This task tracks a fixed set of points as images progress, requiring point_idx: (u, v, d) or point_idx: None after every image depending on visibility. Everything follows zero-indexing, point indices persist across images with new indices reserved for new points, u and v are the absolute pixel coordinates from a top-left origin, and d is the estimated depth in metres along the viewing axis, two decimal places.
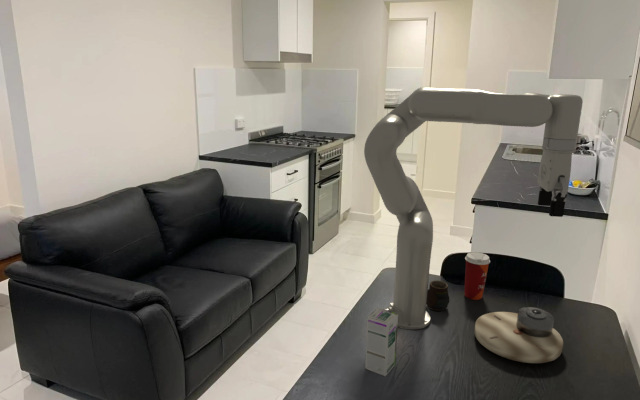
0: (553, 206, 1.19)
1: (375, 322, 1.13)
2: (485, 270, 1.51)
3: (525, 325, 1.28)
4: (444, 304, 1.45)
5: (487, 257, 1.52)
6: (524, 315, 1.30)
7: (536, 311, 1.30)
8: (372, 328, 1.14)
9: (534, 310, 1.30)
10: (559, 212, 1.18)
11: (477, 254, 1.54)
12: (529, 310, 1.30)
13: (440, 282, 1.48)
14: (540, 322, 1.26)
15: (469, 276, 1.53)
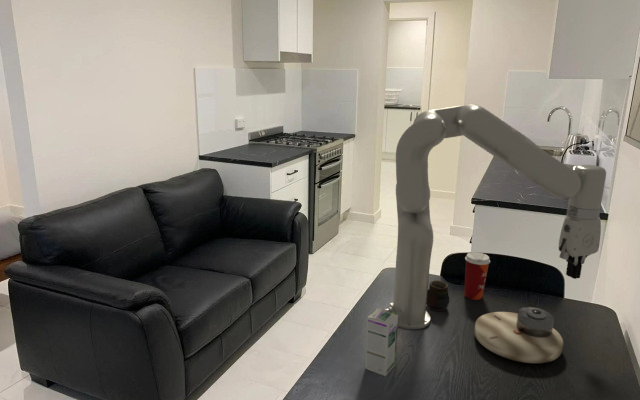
0: None
1: (375, 322, 1.13)
2: (485, 270, 1.51)
3: (525, 325, 1.28)
4: (444, 304, 1.45)
5: (487, 257, 1.52)
6: (524, 315, 1.30)
7: (536, 311, 1.30)
8: (372, 328, 1.14)
9: (534, 310, 1.30)
10: None
11: (477, 254, 1.54)
12: (529, 310, 1.30)
13: (440, 282, 1.48)
14: (540, 322, 1.26)
15: (469, 276, 1.53)
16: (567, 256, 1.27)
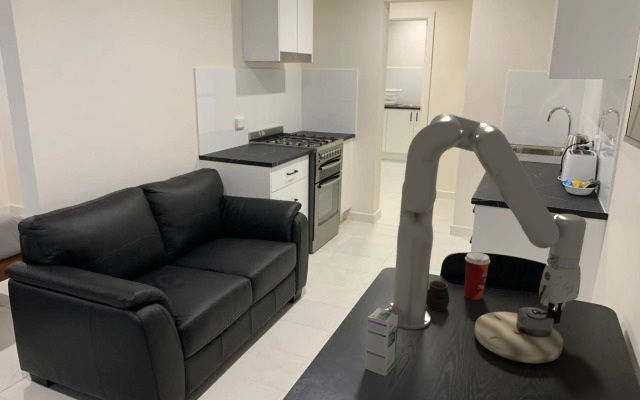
0: None
1: (375, 322, 1.13)
2: (485, 270, 1.51)
3: (525, 325, 1.28)
4: (444, 304, 1.45)
5: (487, 257, 1.52)
6: (524, 315, 1.30)
7: (536, 311, 1.30)
8: (372, 328, 1.14)
9: (534, 310, 1.30)
10: None
11: (477, 254, 1.54)
12: (529, 310, 1.30)
13: (440, 282, 1.48)
14: (539, 322, 1.26)
15: (469, 276, 1.53)
16: (547, 302, 1.29)
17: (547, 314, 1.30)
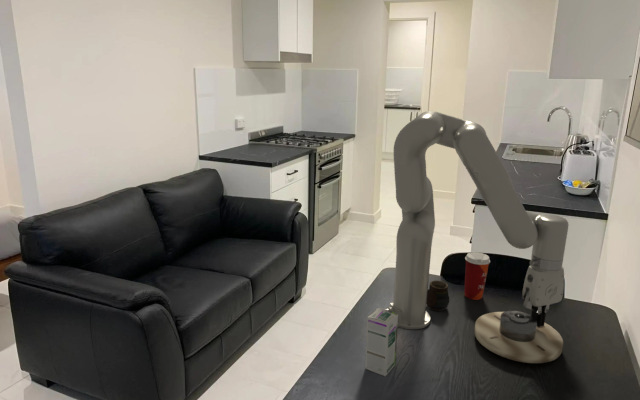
0: None
1: (375, 322, 1.13)
2: (485, 270, 1.51)
3: (507, 329, 1.26)
4: (444, 304, 1.45)
5: (487, 257, 1.52)
6: (506, 319, 1.28)
7: (519, 315, 1.27)
8: (372, 328, 1.14)
9: (517, 314, 1.28)
10: None
11: (477, 254, 1.54)
12: (512, 314, 1.28)
13: (440, 282, 1.48)
14: (521, 326, 1.24)
15: (469, 276, 1.53)
16: (530, 305, 1.27)
17: (531, 318, 1.28)
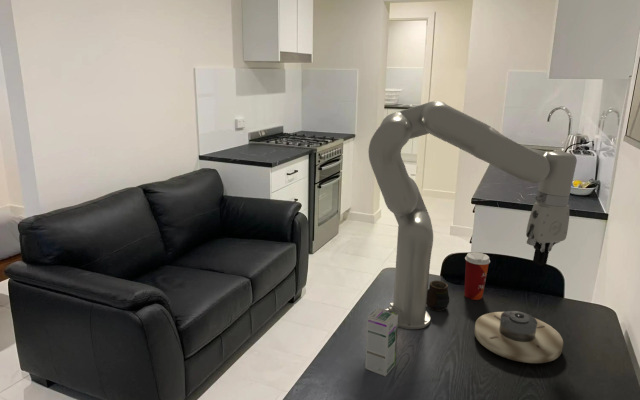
0: None
1: (375, 322, 1.13)
2: (485, 270, 1.51)
3: (507, 329, 1.26)
4: (444, 304, 1.45)
5: (487, 257, 1.52)
6: (506, 319, 1.28)
7: (519, 315, 1.27)
8: (372, 328, 1.14)
9: (517, 314, 1.28)
10: None
11: (477, 254, 1.54)
12: (512, 314, 1.28)
13: (440, 282, 1.48)
14: (522, 326, 1.24)
15: (469, 276, 1.53)
16: (534, 242, 1.27)
17: (531, 318, 1.28)
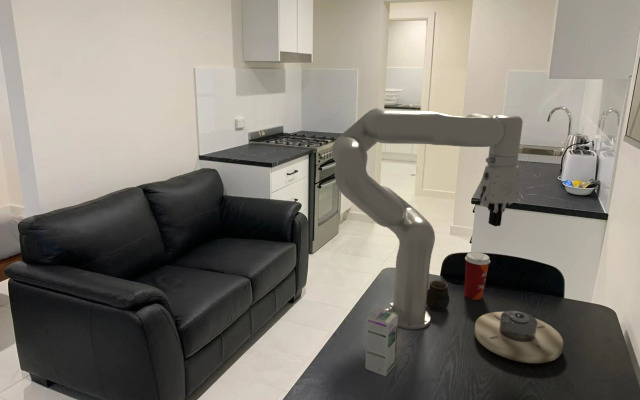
0: None
1: (375, 322, 1.13)
2: (485, 270, 1.51)
3: (507, 329, 1.26)
4: (444, 304, 1.45)
5: (487, 257, 1.52)
6: (506, 319, 1.28)
7: (519, 315, 1.27)
8: (372, 328, 1.14)
9: (517, 314, 1.28)
10: None
11: (477, 254, 1.54)
12: (512, 314, 1.28)
13: (440, 282, 1.48)
14: (522, 326, 1.24)
15: (469, 276, 1.53)
16: (487, 203, 1.32)
17: (531, 318, 1.28)
